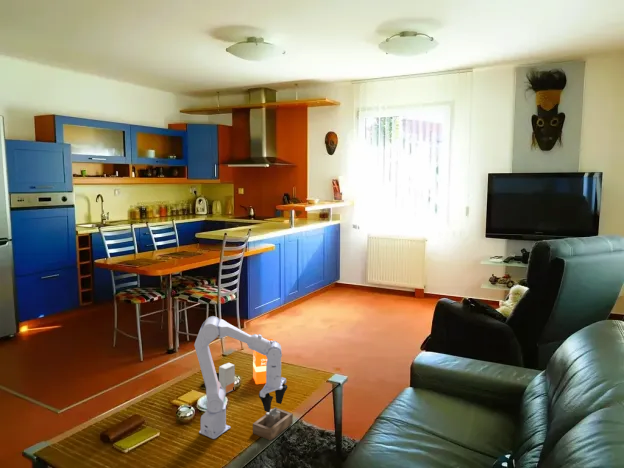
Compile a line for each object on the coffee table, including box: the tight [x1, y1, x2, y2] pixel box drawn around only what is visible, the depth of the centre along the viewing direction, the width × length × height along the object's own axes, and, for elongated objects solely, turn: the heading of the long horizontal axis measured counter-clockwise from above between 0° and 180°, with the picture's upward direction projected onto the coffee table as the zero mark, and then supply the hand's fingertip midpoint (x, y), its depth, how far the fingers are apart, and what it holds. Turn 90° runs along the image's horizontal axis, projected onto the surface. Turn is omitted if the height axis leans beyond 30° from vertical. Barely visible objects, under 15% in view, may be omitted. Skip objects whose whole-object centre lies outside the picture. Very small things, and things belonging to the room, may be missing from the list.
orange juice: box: [252, 338, 274, 385], centre depth 223 cm, size 8×9×20 cm
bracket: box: [265, 407, 280, 428], centre depth 183 cm, size 4×4×7 cm
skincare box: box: [218, 362, 236, 394], centre depth 212 cm, size 6×4×12 cm
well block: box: [252, 407, 294, 441], centre depth 183 cm, size 14×8×4 cm, turn 148°
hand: (273, 407), depth 182 cm, fingers open, 7 cm apart
